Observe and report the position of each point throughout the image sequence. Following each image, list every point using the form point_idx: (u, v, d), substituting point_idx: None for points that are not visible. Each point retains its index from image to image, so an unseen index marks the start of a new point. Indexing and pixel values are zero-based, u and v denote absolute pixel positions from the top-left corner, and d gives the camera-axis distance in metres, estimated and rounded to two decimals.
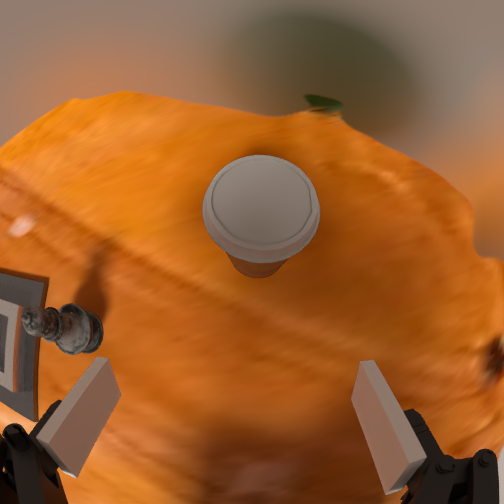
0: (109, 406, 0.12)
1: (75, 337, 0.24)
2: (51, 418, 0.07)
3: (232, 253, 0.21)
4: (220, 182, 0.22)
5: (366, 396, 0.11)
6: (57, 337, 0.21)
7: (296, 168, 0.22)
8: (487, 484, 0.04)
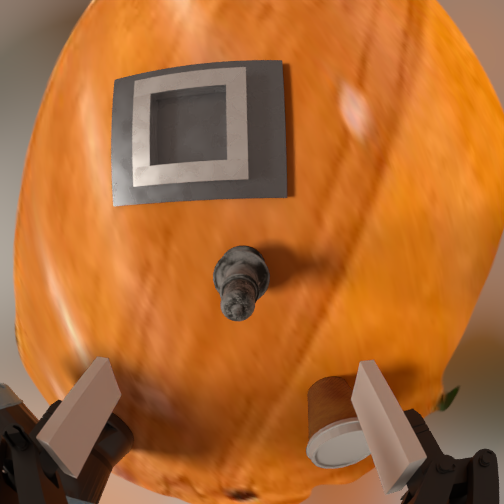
0: (110, 407, 0.12)
1: None
2: (51, 418, 0.07)
3: (312, 440, 0.26)
4: (362, 431, 0.25)
5: (366, 396, 0.11)
6: None
7: (364, 457, 0.26)
8: (487, 484, 0.04)
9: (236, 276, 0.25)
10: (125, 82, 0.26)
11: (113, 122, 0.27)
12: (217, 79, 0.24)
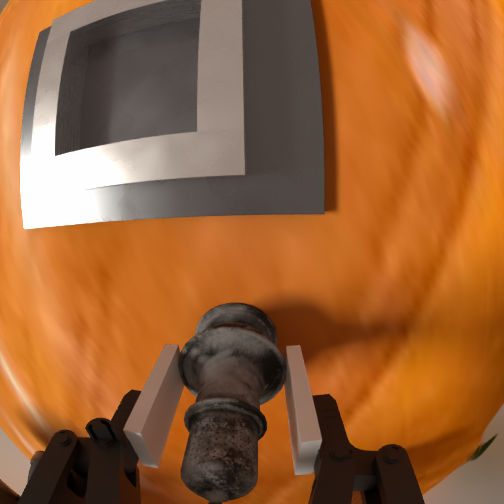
0: (178, 393, 0.13)
1: None
2: (135, 407, 0.09)
3: None
4: None
5: (288, 378, 0.13)
6: None
7: None
8: (401, 481, 0.05)
9: (216, 404, 0.10)
10: None
11: (27, 92, 0.12)
12: None
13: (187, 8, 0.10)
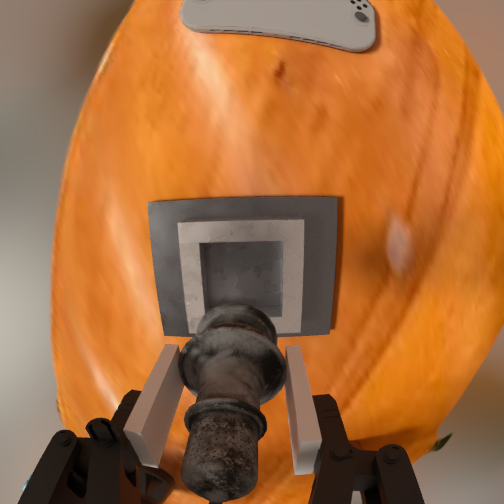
0: (178, 393, 0.13)
1: None
2: (135, 407, 0.09)
3: None
4: None
5: (288, 378, 0.13)
6: None
7: None
8: (401, 481, 0.05)
9: (216, 404, 0.10)
10: (161, 209, 0.28)
11: (154, 255, 0.30)
12: (273, 234, 0.26)
13: None
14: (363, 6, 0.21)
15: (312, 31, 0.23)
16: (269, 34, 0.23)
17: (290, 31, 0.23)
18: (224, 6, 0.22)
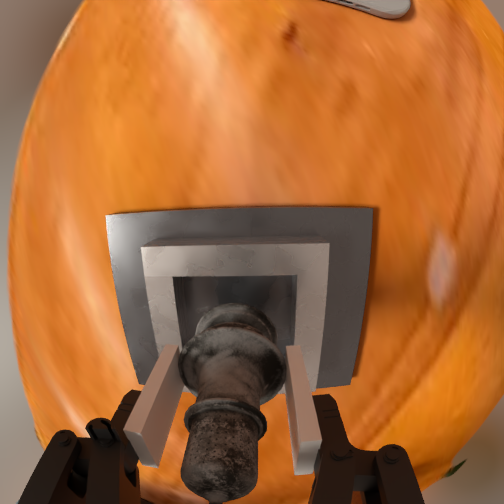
0: (179, 393, 0.13)
1: None
2: (135, 407, 0.09)
3: None
4: None
5: (288, 378, 0.13)
6: None
7: None
8: (401, 481, 0.05)
9: (215, 404, 0.10)
10: (123, 224, 0.19)
11: (117, 287, 0.21)
12: (283, 265, 0.17)
13: None
14: None
15: None
16: None
17: None
18: None
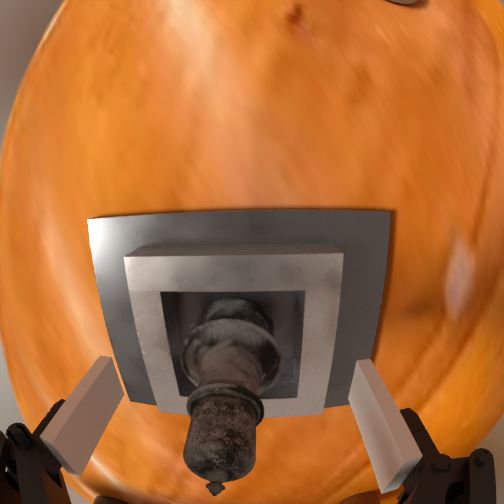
0: (113, 406, 0.12)
1: None
2: (55, 417, 0.08)
3: None
4: None
5: (363, 395, 0.11)
6: None
7: None
8: (483, 483, 0.04)
9: (216, 389, 0.11)
10: (107, 229, 0.17)
11: (102, 299, 0.18)
12: (289, 278, 0.15)
13: None
14: None
15: None
16: None
17: None
18: None
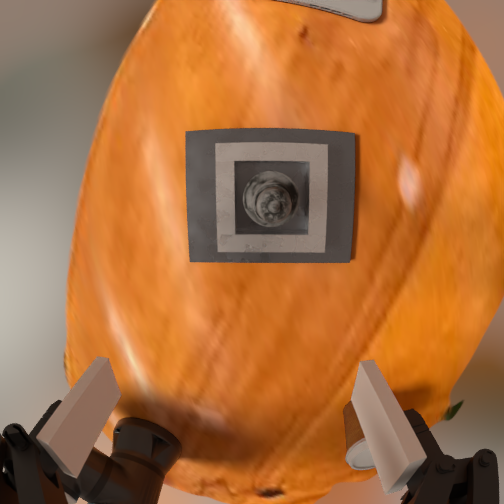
0: (110, 407, 0.12)
1: None
2: (51, 418, 0.07)
3: (352, 449, 0.31)
4: None
5: (366, 396, 0.11)
6: (260, 217, 0.25)
7: None
8: (487, 484, 0.04)
9: (270, 184, 0.24)
10: (198, 136, 0.30)
11: (187, 179, 0.32)
12: (301, 155, 0.28)
13: None
14: None
15: (328, 2, 0.24)
16: (292, 1, 0.25)
17: (310, 0, 0.24)
18: None
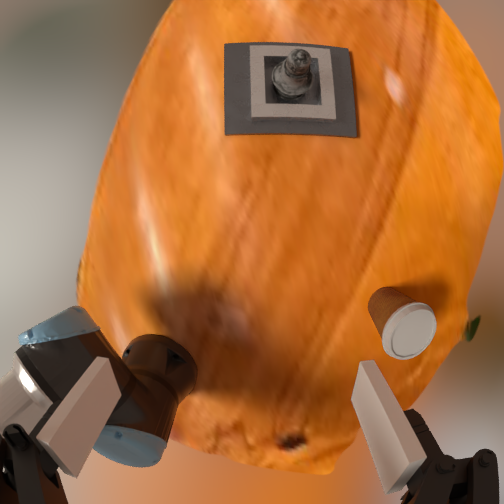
0: (110, 406, 0.12)
1: (288, 84, 0.32)
2: (51, 418, 0.07)
3: (388, 323, 0.35)
4: (425, 313, 0.33)
5: (366, 396, 0.11)
6: (288, 75, 0.29)
7: (425, 347, 0.35)
8: (487, 484, 0.04)
9: None
10: (234, 46, 0.35)
11: (225, 73, 0.36)
12: (311, 54, 0.33)
13: None
14: None
15: None
16: None
17: None
18: None
